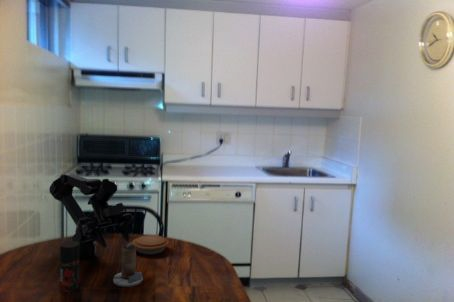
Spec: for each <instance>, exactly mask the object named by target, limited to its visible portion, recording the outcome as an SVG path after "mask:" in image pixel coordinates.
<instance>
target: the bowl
mask: <svg viewBox="0 0 454 302" xmlns="http://www.w3.org/2000/svg"><path fill="white" fill-rule="evenodd" d="M143 278H144V277H143V272H142V271H139V272H138V271H135V274H132V275H129V276H128V280H124V279H122V278H121V272H118V273H117V274H115V275H114V276H113V284H114V285H116V286H117V287H123V288H131V287H135V286H138V285H140V284H141V283H142V282H143Z"/></svg>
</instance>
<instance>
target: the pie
mask: <svg viewBox="0 0 454 302" xmlns="http://www.w3.org/2000/svg"><path fill="white" fill-rule="evenodd" d="M131 243H132V244H134V245H135V246H136V252H138V253H140V254H143V255H149V256H150V255H157V254H161V253H162V252H164V250H165V249H166V248H167V246H168V245H169V243H170V242H169V240H168V239H167V238H166V237H163V236H160V235H155V234H154V235H153V234H151V235H150V234H148V235H142V236H139V237H137V238H135V239H133V240H132V242H131Z"/></svg>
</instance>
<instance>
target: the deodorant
mask: <svg viewBox="0 0 454 302" xmlns="http://www.w3.org/2000/svg"><path fill="white" fill-rule="evenodd" d="M79 245H80V243H79V242H76V241H73V240H70V241H69V240H68V241H64V242H62V243H60V245H59V253H60V254H59V290H60V291H61V292H64V293H67V292H68V293H69V292H73V291H74V292H75V291H76V290H78V289H79V287H80V259H79Z"/></svg>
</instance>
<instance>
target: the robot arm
mask: <svg viewBox="0 0 454 302" xmlns="http://www.w3.org/2000/svg"><path fill="white" fill-rule="evenodd" d="M74 188H77V189H79V191H80V193H81V194H83V195H84V196H90V195H91V196H90V197H89V198H88V201H87V205H88V206H89V205H90V206H91V207H92V210H93V212H94V214H93V216H94V217H87V216H86V214H85V212H84V211H83V210H82V207H81V206H80V205H79V203H78V201H77V200H76V199H75V197H74V195H73V191H74ZM117 191H118V186H117V184H115V182H113V181H112V180H109V178H104V179H102V180H101V179H100V178H86V177H83V176H80V175H78V174H75V173H74V172H67V173H66V172H65V173H62V174H61V175H60V177H58V178H57V179H55V180H53V182H51V184H50V186H49V193H50V195H51V196H52V197H53V198H54V200H56V201H58V202H61V203H62V205H63V207H64V208H65V210H66V211H67V213H68V214H69V217H70V218H71V219H72V221H73V223H74V225H76V227H75V232H74V234H73V235H72V241H76V242H79V243H80V245H79V260H92V259H94V258H95V255H96V246H97V245H96V243H95V242H97V243H98V244H99V245H100V246H101V247H102V248H104V249H106V248H107V247H108V246H107V243H106V241H105V238H104V236H103V233H102V229H103V228H108V227H113V226H116V225H117V227H119V228H118V230H119V232H120V233H121V235H122V237H123V238H124V241H126V242H127V243H128V242H129V240H130V239H129V226H130V224H131V223H132V221H133V220H134V219H135V218H134V216H133V214H132V213H130V212H128V213H124V214H122V212H124V211H125V205H124V204H123V203H122V202H119V203H116V204H115V205H114V206H112V205H111V204H109V201H110V200H111V199H112V198H113V196H114V195H115V194H116V193H117ZM118 215H121V216H119V218H117V217H118ZM95 218H96V219H95ZM116 218H117V219H116Z"/></svg>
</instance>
